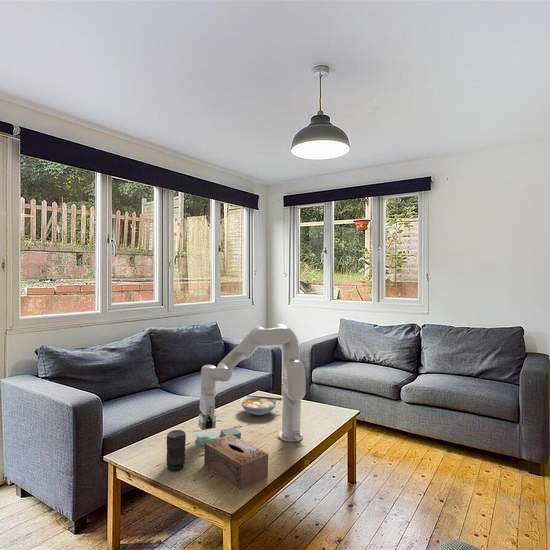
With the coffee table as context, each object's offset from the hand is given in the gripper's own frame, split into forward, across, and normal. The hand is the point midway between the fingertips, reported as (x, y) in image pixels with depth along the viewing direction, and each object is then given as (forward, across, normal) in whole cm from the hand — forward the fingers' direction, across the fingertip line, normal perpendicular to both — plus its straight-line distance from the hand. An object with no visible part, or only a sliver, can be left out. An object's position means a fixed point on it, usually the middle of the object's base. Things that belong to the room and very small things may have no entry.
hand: (207, 425), depth 194 cm
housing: (+1, 0, 0) cm, 1 cm away
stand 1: (+8, 0, 0) cm, 8 cm away
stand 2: (+8, 0, +13) cm, 15 cm away
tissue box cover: (+8, +32, +1) cm, 34 cm away
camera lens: (+8, +19, -21) cm, 29 cm away
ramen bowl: (+8, -22, +41) cm, 48 cm away
